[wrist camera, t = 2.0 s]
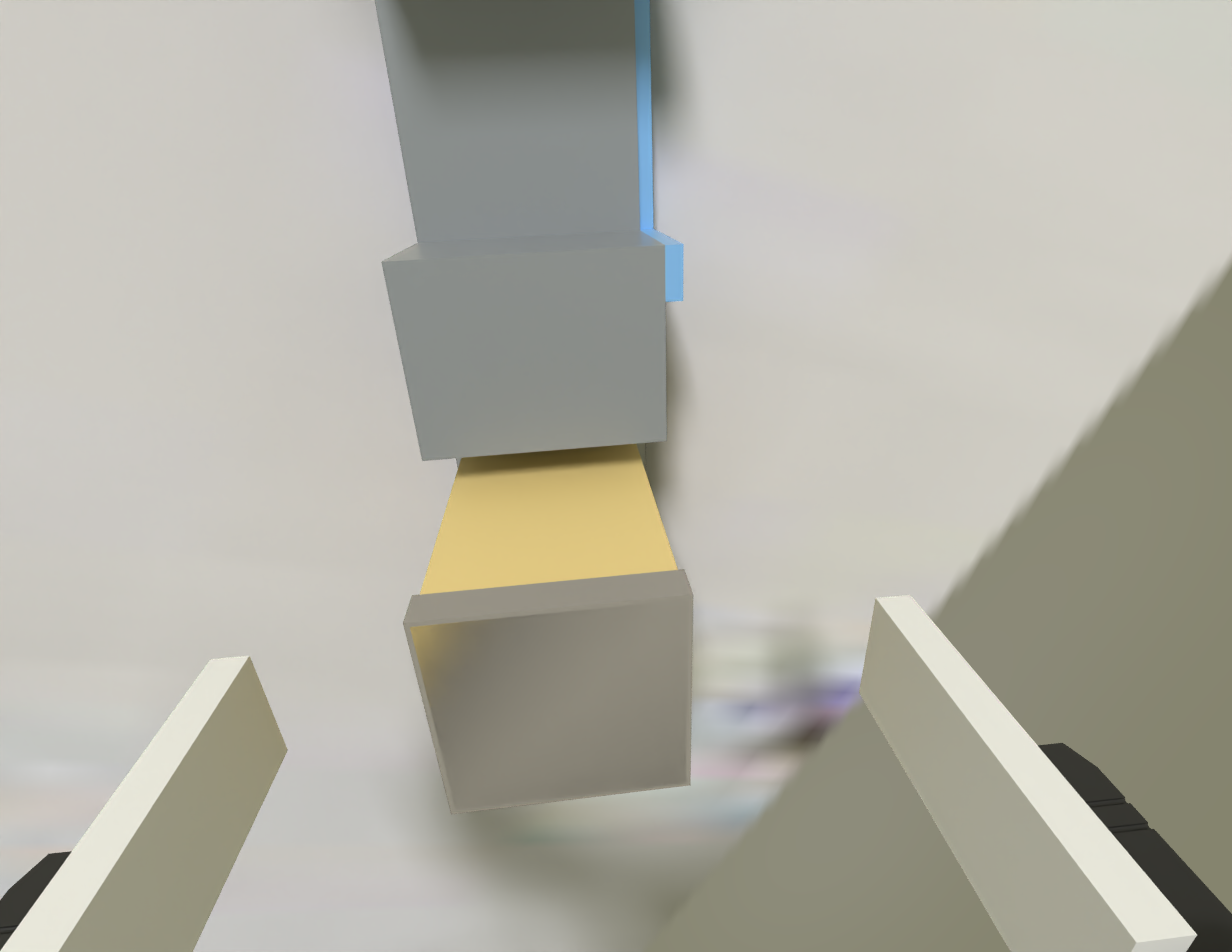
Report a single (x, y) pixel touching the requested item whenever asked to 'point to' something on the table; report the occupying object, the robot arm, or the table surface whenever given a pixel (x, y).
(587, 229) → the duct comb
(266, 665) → the table surface
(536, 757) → the tan yellow block
